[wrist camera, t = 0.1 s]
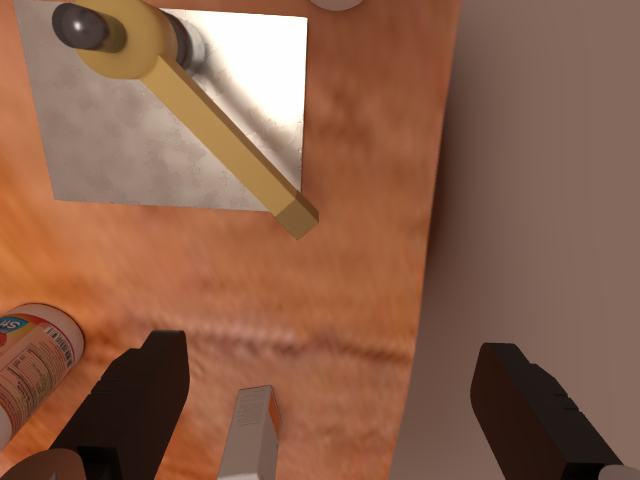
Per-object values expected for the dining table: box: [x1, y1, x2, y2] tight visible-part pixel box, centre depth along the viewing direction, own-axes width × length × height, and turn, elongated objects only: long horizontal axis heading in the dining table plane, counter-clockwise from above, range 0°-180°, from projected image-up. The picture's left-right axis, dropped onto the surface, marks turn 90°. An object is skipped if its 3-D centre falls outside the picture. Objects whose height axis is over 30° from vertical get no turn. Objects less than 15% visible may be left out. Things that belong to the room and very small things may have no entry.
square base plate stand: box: [13, 0, 307, 211], centre depth 29 cm, size 17×24×16 cm
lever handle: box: [74, 0, 319, 240], centre depth 27 cm, size 19×5×4 cm, turn 42°
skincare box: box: [217, 385, 281, 480], centre depth 44 cm, size 6×4×12 cm
